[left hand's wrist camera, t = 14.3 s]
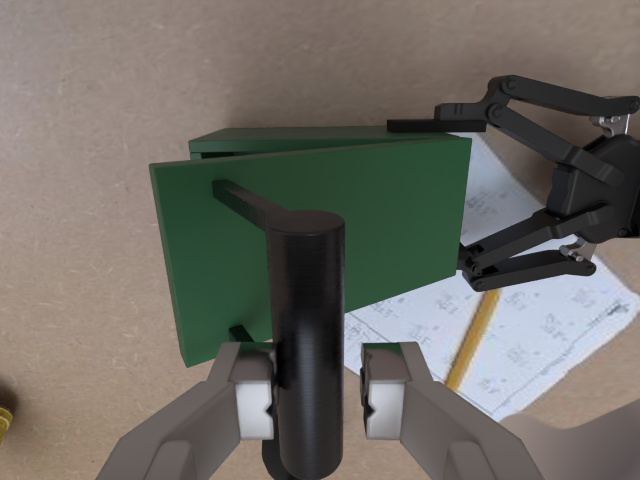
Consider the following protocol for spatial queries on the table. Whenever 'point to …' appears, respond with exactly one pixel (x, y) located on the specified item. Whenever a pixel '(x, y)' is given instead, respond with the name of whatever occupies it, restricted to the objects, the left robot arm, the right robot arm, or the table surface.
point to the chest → (295, 139)
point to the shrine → (5, 420)
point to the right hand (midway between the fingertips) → (386, 191)
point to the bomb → (275, 458)
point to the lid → (305, 260)
